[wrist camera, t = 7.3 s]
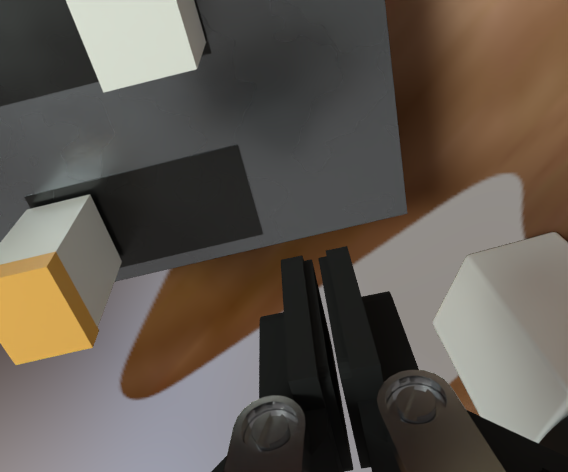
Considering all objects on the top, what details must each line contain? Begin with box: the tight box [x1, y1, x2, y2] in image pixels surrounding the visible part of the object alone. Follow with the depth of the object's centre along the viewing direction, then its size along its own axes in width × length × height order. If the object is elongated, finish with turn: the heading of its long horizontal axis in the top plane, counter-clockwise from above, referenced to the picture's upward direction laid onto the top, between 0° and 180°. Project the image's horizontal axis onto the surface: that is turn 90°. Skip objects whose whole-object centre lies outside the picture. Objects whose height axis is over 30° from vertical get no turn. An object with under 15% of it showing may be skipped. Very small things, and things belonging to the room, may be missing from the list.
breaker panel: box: [0, 0, 407, 281], centre depth 19 cm, size 20×11×4 cm, turn 103°
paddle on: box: [0, 194, 122, 365], centre depth 17 cm, size 2×3×5 cm
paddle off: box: [66, 0, 206, 93], centre depth 13 cm, size 2×3×4 cm
